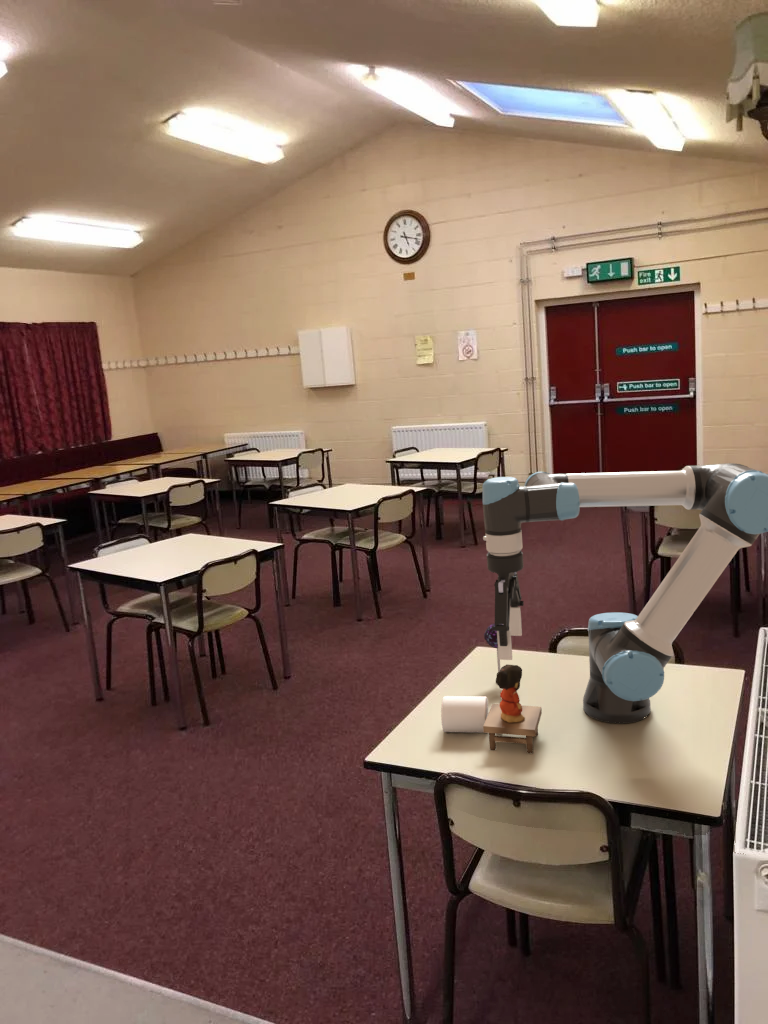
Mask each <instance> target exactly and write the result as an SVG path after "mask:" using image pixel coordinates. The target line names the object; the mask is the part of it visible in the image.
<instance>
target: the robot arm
mask: <svg viewBox="0 0 768 1024" xmlns="http://www.w3.org/2000/svg"><path fill="white" fill-rule="evenodd" d="M481 488H482V510H483V522H484V533H485V535H483V537H482V539H483V541H486V542H485V545H486V546H485V547H486V548H485V549H486V551H487V553H486V562H487V563H486V566H487V570H488V571H489V572H491V573H495V574H497V579H495V582H494V584H493V585H494V623H495V627H493V631H497V641H498V655H499V660H500V661H502V660H504V661H505V660H506V661H512V660H513V648H512V646H513V645H512V636H513V637H514V636H515V637H522V635H523V630H522V627H523V626H522V613H521V607H524V600H522V599H523V598H522V593H521V588H520V583H519V582H520V581H519V577H518V576H519V575H518V572H520V571H522V569H523V568H524V553H523V551H522V549H523V534H522V533H523V532H522V524H523V523H532V522H535V523H536V522H547V521H549V522H550V521H565V520H570V519H576V518H577V517H578V516H579V515H580V510H581V509H580V508H595V507H597V508H602V507H603V508H604V507H643V506H644V507H648V506H649V507H651V506H653V507H655V506H682V507H683V508H684V509H686V510H689V511H690V510H691V511H693V510H697V511H698V510H699V511H701V512H700V513H699V514H698V516H699V520H700V526H699V528H698V529H697V530H696V532H695V534H694V535H693V537H691V539H690V541H689V543H688V544H687V545H686V547H685V548H684V550H683V551H682V552H681V554H680V555H679V557H678V558H677V559H676V561H675V562H674V564H673V565H672V567H671V568H670V570H669V571H668V572H667V573H666V576H665V577H664V578H663V580H662V581H661V582H660V584H659V586H658V587H657V588H656V590H655V591H654V593H653V594H652V596H650V598H649V600H648V602H646V604H645V606H644V607H643V608H642V610H641V611H640V613H639V614H638V615H636V614H634V613H628V612H603V613H597V614H594V615H592V616H591V617H589V619H588V626H587V631H588V656H589V657H588V658H589V661H588V663H589V679H588V683H587V685H586V688H585V691H584V694H583V697H582V698H583V699H582V704H583V705H582V706H583V711H584V712H585V714H586V715H587V716H589V717H591V718H592V719H593V720H594V719H595V720H596V721H600V722H603V723H604V722H605V723H610V724H631V723H636V722H640V721H642V720H644V719H645V718H644V717H646V716H647V715H648V714H649V713H650V714H651V711H650V710H651V699H650V698H652V697H654V696H655V695H656V694H657V693H658V692H659V691H660V690H661V688H662V686H663V684H664V680H665V671H664V668H665V667H666V665H668V664H669V661H670V660H671V658H673V656H674V649H673V646H672V645H673V642H674V641H675V640H676V638H677V637H678V635H679V634H680V632H681V631H682V629H683V628H684V627H685V625H686V624H687V622H688V621H689V620H690V618H691V617H692V616H693V614H694V612H696V610H697V609H698V607H699V606H700V605H701V603H703V602H702V601H704V599H705V597H706V596H707V595H708V593H709V592H710V591H711V589H712V588H713V586H714V585H715V583H716V582H717V581H718V579H719V577H720V576H721V575H722V573H723V572H724V571H725V569H726V568H727V566H728V565H729V564H730V562H732V559H733V558H734V557H735V555H736V554H737V552H738V551H739V550H740V549H743V548H748V547H752V545H753V544H754V542H755V541H756V540H757V539H758V537H759V536H760V535H761V534H764V533H767V532H768V473H765V472H763V471H762V470H757V469H754V468H751V467H749V466H747V465H744V464H741V463H735V462H729V463H727V462H725V463H713V464H701V465H686V466H684V467H683V468H682V469H681V470H657V471H654V470H651V471H619V472H618V471H617V472H586V473H585V472H581V473H575V472H574V473H549V472H547V471H536V472H534V473H531V474H530V475H529V476H528V478H527V479H526V480H525V482H524V485H520V483H519V480H518V479H517V478H516V477H513V476H496V477H491V478H488V479H487V480H485V481H484V482H483V484H482V487H481ZM500 624H503V625H500ZM650 714H649V715H650ZM649 715H648V716H649ZM648 716H647V717H648ZM647 717H646V718H647ZM643 718H644V719H643ZM641 719H642V720H641Z"/></svg>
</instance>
